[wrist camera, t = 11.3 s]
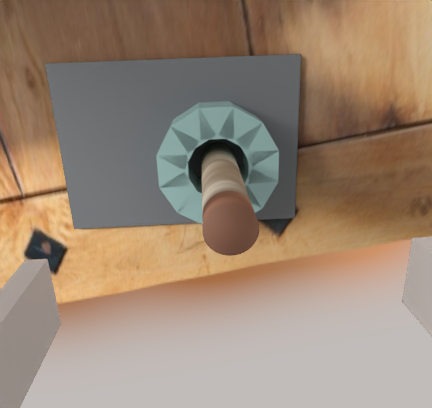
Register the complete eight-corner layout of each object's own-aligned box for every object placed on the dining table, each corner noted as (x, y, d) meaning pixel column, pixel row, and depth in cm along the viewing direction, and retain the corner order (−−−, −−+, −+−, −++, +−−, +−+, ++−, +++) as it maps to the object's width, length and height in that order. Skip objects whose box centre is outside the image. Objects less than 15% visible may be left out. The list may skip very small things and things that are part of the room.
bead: (166, 210, 35) (162, 227, 31) (157, 104, 32) (151, 109, 28) (269, 204, 35) (277, 222, 31) (270, 99, 32) (280, 104, 28)
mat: (76, 226, 36) (74, 229, 35) (47, 63, 31) (44, 63, 30) (293, 215, 36) (294, 217, 36) (299, 54, 31) (300, 53, 31)
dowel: (201, 173, 34) (202, 255, 20) (201, 141, 33) (203, 203, 19) (233, 174, 34) (256, 255, 20) (234, 142, 33) (261, 204, 19)
